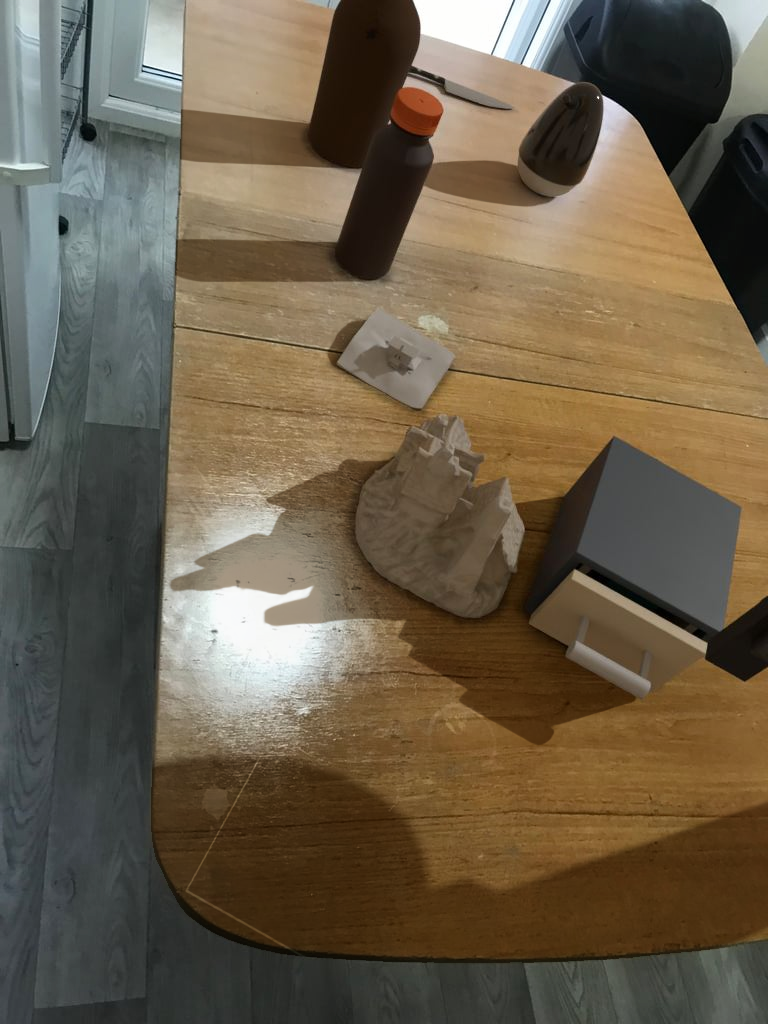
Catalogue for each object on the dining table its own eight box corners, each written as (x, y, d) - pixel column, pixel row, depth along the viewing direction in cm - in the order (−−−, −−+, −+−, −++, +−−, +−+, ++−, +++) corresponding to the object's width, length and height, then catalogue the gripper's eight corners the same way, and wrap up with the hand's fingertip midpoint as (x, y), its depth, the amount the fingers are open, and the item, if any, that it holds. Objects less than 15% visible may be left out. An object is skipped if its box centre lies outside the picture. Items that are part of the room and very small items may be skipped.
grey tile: (331, 378, 85) (341, 352, 83) (353, 311, 93) (363, 285, 90) (440, 418, 87) (454, 394, 84) (453, 350, 94) (466, 325, 91)
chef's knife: (515, 119, 132) (515, 108, 134) (518, 113, 131) (518, 102, 133) (401, 78, 128) (402, 67, 129) (403, 71, 127) (404, 60, 128)
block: (640, 591, 79) (671, 563, 75) (631, 631, 76) (663, 604, 72) (594, 565, 79) (622, 537, 75) (583, 605, 76) (612, 577, 72)
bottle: (345, 234, 100) (400, 72, 85) (396, 259, 101) (460, 103, 85) (325, 262, 96) (379, 97, 81) (378, 289, 96) (442, 130, 81)
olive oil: (389, 174, 111) (462, -25, 92) (314, 167, 106) (374, -44, 87) (365, 126, 116) (429, -72, 97) (293, 118, 112) (345, -92, 92)
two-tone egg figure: (493, 169, 121) (541, 66, 109) (536, 158, 127) (586, 59, 115) (542, 213, 118) (597, 113, 106) (583, 200, 124) (640, 103, 112)
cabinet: (656, 683, 76) (723, 634, 69) (523, 609, 76) (576, 551, 69) (681, 561, 86) (742, 506, 79) (564, 495, 86) (614, 435, 79)
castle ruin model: (479, 641, 72) (559, 535, 62) (320, 539, 74) (371, 419, 63) (536, 534, 83) (612, 428, 72) (396, 447, 85) (451, 332, 74)
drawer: (643, 735, 71) (699, 698, 65) (514, 662, 71) (558, 619, 65) (677, 575, 84) (726, 532, 78) (566, 514, 84) (607, 465, 78)
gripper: (1247, 562, 28) (772, 787, 46) (1159, 350, 36) (788, 610, 54) (1048, 452, 28) (652, 720, 46) (1007, 266, 36) (686, 554, 54)
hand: (726, 660), depth 50 cm, fingers closed
